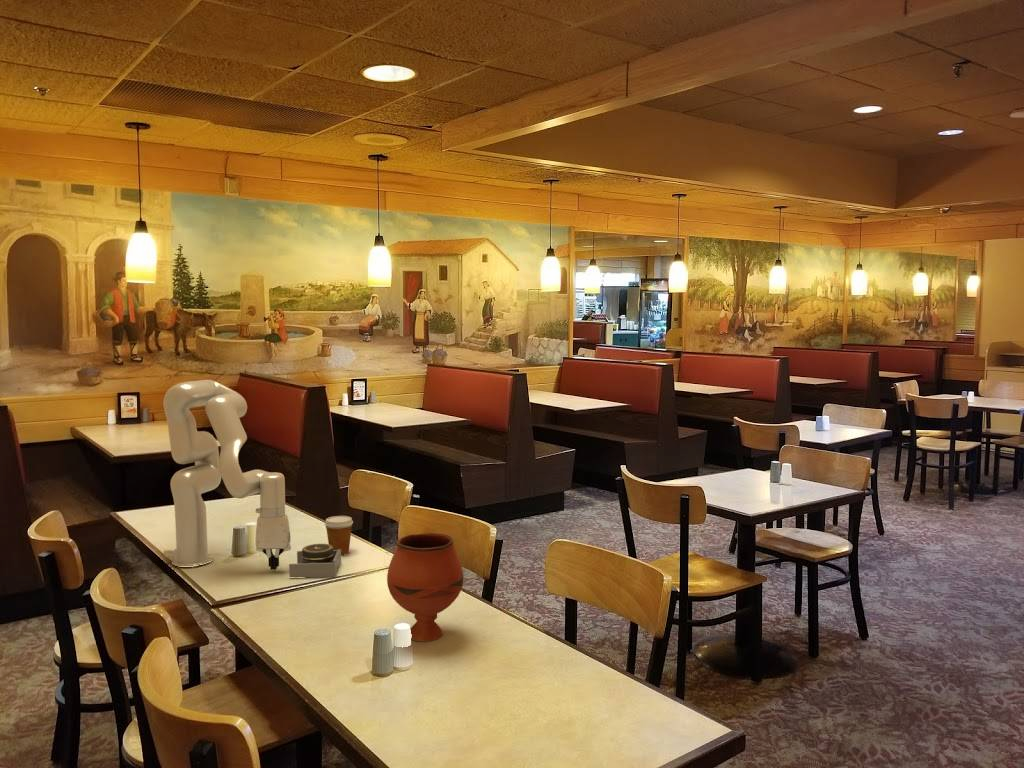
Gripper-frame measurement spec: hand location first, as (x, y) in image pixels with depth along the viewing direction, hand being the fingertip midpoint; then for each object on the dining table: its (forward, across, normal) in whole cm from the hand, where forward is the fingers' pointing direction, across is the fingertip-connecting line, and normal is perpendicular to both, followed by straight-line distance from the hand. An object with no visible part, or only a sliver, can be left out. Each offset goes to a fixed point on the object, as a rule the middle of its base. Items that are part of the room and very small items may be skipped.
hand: (273, 568), depth 252 cm
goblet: (+1, +49, -54) cm, 73 cm away
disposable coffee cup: (+1, +18, +18) cm, 25 cm away
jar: (+1, +14, 0) cm, 14 cm away
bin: (+1, +13, 0) cm, 13 cm away
